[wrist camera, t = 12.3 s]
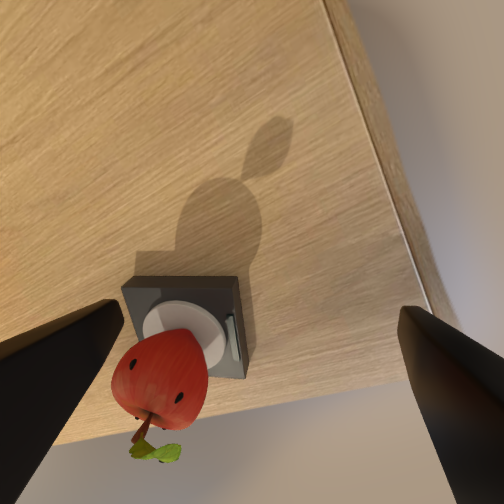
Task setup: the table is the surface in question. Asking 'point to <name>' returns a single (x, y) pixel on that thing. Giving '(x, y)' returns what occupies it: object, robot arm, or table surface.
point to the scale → (193, 316)
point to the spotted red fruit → (161, 387)
